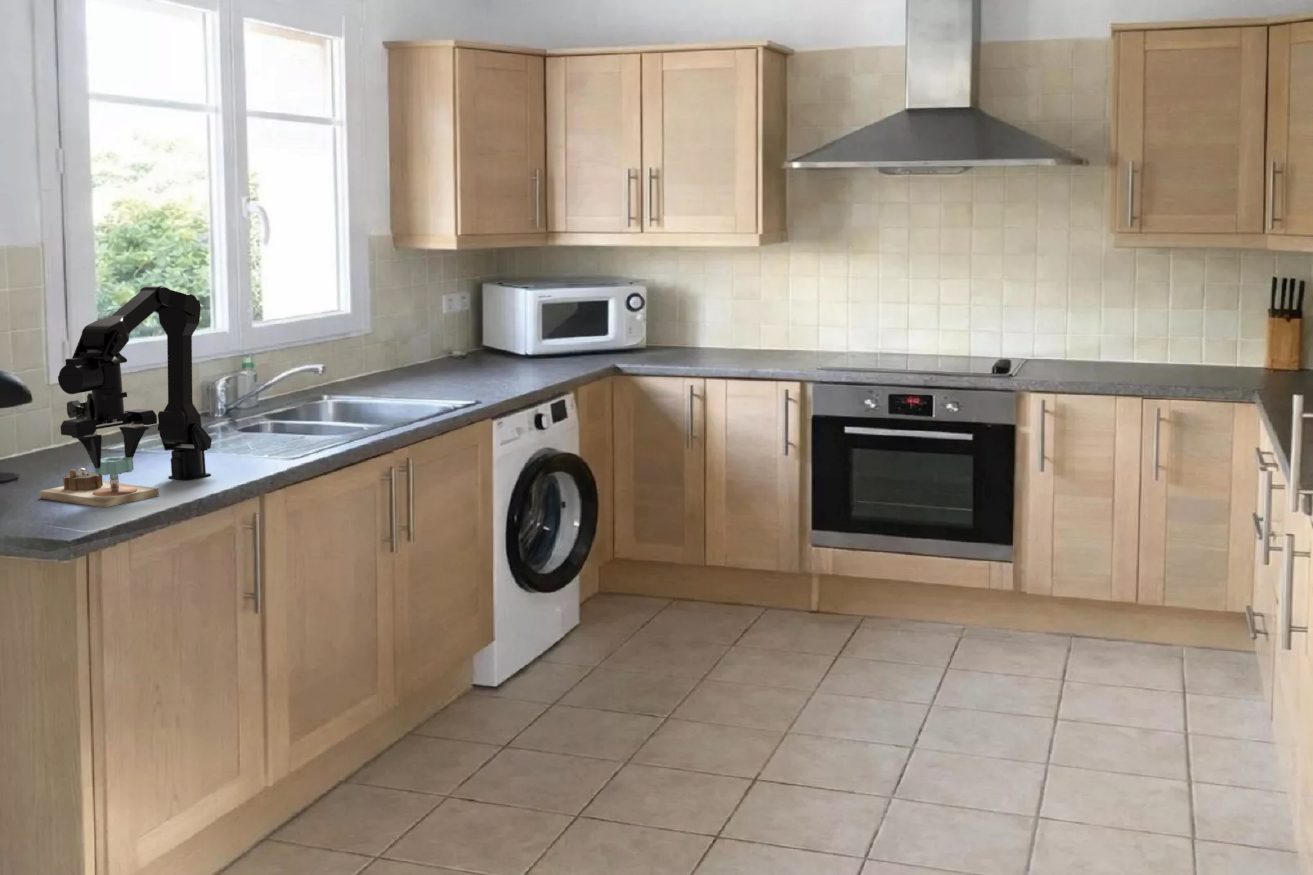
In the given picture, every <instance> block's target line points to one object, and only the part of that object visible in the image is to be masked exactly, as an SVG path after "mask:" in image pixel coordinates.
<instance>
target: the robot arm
mask: <svg viewBox="0 0 1313 875" xmlns="http://www.w3.org/2000/svg"><path fill="white" fill-rule="evenodd" d="M201 308H202V306H201V302H200V300H198V298H197V296H195V295H194V294H192V293H184V292H179V291H175V290H173V289H170V288H169V287H166V286H163V285H145V286H143V287H141V288H140V290H139V292H138V293H137V294H136V295H134V296H133V297H132V298H130V300H128V301H127V302H126V303H124V305H122V306H121V307H120V308H118V309H117V310H116V311H115V312H114V313H113V314H112V315H109V316H108V317H105V318H100V319H98V320H95V321H93V322H92V323H89V324H87V325H85V327H83V329H82V331H81V334H80V338H79V341H78V343H77V346H76V348H75V350H74V353H73V355H72V358H70V357H69V358H66V359H65V361H64V362H65V365H64V366H62V367H61V369H60V370H59V373H58V376H57V381H58V385H59V387H60V388H61V390H62V391H63V392H64V393H66V394H68V395H76V394H80V393H86V392H90V393H87V395H86V399H87V400H86V401H85V402H80V400H78V399H76V400H70V401H68V402H67V403H66V414H67V417H69V419H67V420H63V421H62V423H61V424H60V435H61V436H66V437H67V436H69V437H72V438H73V439H77V440H78V441H79V442H80V443H81V444H82V446H83V448H84V449H85V450H86V452H87V454H88V456H89V459H90V461H91V463H92V464H93V468H94V467H95V468H100V463H101V459H102V440H103V439H102V436H103V434H98V432H97V430H99V429H105V428H106V429H107V428H112V427H118V426H119V427H118V429H119V430H120V432H121V434H122V435H123V436H122V437H123V443H124V444H123V445H124V447H123V448H124V456H125V457H132V458H133V459H134V456H135V453H136V451H137V449H138V446H139V444H140V442H141V440H142V438H143V436H144V434H145V432H146V430H147V431H148V430H149V426H150V425H157V424H158V426H157V428H156V429H157V431H158V433H159V437H160V440H161V443H162V446H163V448H164V451H171V457H170V468H171V469H170V472H171V475H168V476H167V477H168V479H171V480H179V481H193V480H198V479H202V478H207V477H211V476H212V473H208V472H207V470H206V469H207V468H206V456H205V451H208V450H210V449H211V447H212V446H211V445H212V437H211V436H210V435H209V433H208V432H207V431H206V430H205V429H204V428H203V427H202V421H201V415H200V412H198V409H197V408H196V406H195V405H194V402H193V335H194V333H195V331H196V329H197V328H198V326H199V324H200V321H201V320H200V318H201ZM153 313H156V314H157V315H158V320H159V324H160V326H161V328H162V329H163V331H164V332H165V334H166V343H167V344H166V345H167V346H166V347H167V348H166V349H167V351H166V352H167V404H166V405H165V407H164V409H163V410H161V411H160V410H159V411H158V414H156V412H155V411H154V410H153V409H147V408H146V409H145V408H136V409H130V410H125V406H124V398H128V392H127V391H123V381H122V370H121V364H124V363H127V361H128V359H127V358H126V357H125V355H124V356H123V355H122V354H121V351H122V350H124V348H125V347H126V345H127V344H128V343H129V341H130V334H131V333H132V331H133V330H135V329H136V328H137V327H138V326H140V324H142V323H143V322H144V321H145V320H147V318H148V317H150V316H151V315H152V314H153Z"/></svg>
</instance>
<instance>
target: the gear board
mask: <svg viewBox="0 0 1313 875" xmlns="http://www.w3.org/2000/svg"><path fill="white" fill-rule="evenodd" d="M102 482H103V486H101V487H100V488H94V489H91V490H77V491H71V490H65V489H64V485H63V486H58V487H53V488H47V489H43V490H39V492H40V493H39V494H40V499H45V500H51V501H58V502H63V503H71V504H77V505H83V506H84V505H85V506H90V507H91V506H93V507H98V508H99V507H100V508H108V507H114V506H116V505H117V506H118V505H122V504H126V503H130V502H131V503H132V502H136V501H140V500H145V499H149V498H153V497H158V496H160V493H159V492H160V491H159V490H160V489H159V487H153V486H152V487H150V486H143V485H135V484H130V483H121V482H119V490H118V491H112V490H111V486H110V481H105V480H102Z"/></svg>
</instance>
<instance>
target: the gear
mask: <svg viewBox="0 0 1313 875" xmlns="http://www.w3.org/2000/svg"><path fill="white" fill-rule="evenodd" d="M68 470H69V471H68V472H69V474H66V475H64V476H63V477H62V478H63V480H62V481H63V486H64V489H65V490H71V491H77V490H91V489H94V488H100V487H101V486H103V482H102V481H103V475H101V474H95V473H94V471H90V472H87V476H83V477H78V472H77V469H75V468H74V469H68Z"/></svg>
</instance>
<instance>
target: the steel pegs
mask: <svg viewBox="0 0 1313 875" xmlns="http://www.w3.org/2000/svg"><path fill="white" fill-rule="evenodd" d="M77 473H78V477H83V476H87V473H88V472H87V470H86V468H84V467H82V468H80V469H78V471H77ZM109 482H110V486H111V490H112V491H118V490H119V483H120V481H119V474H109Z"/></svg>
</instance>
